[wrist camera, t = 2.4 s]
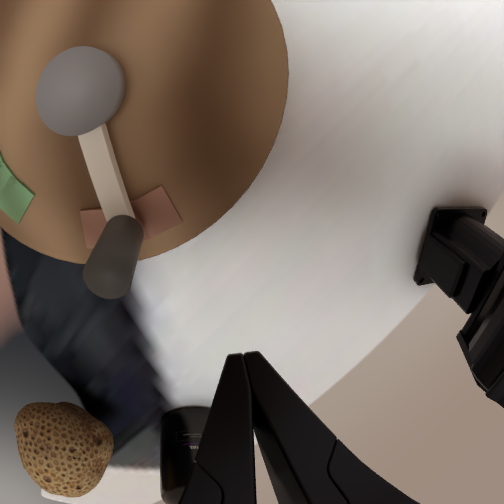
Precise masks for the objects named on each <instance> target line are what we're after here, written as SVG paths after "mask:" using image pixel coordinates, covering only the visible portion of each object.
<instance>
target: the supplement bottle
mask: <svg viewBox="0 0 504 504" xmlns="http://www.w3.org/2000/svg"><path fill="white" fill-rule="evenodd" d="M209 412H210V410H209V409H204V408H184V409H179V410H175V411H173V412H171V413H169V414H167V415H166V416H165V417H164V418H163V420H162V422H161V426H160V490H161V497H162V499H163V501H164V502H165V503H166V504H178V502H179V500H180V498H181V496H182V493H183V491H184V488H185V485H186V483H187V480H188V477H189V474H190V471H191V468H192V465H193V463H194V462H195V460H194V459H195V456H196V453H197V450H198V447H199V444H200V440H201V437H202V434H203V431H204V428H205V425H206V421H207V418H208V415H209Z"/></svg>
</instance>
